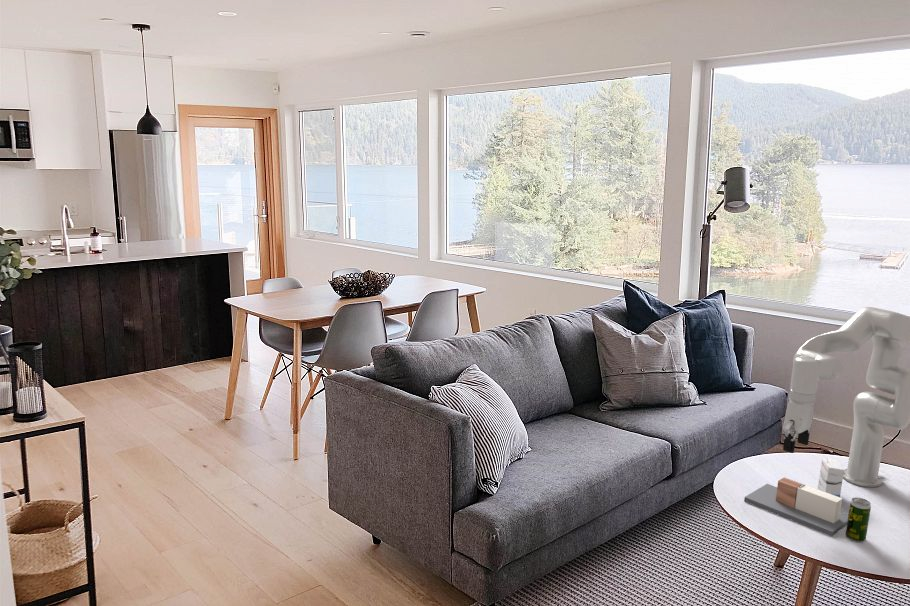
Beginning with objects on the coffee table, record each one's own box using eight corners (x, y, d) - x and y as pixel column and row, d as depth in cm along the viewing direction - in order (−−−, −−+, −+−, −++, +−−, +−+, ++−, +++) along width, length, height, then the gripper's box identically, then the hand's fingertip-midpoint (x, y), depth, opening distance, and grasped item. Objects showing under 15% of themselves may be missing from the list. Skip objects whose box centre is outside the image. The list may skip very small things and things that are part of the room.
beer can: (850, 531, 224) (855, 495, 221) (868, 539, 220) (874, 502, 217) (842, 537, 221) (847, 500, 218) (860, 545, 217) (866, 507, 214)
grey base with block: (766, 487, 251) (769, 464, 249) (852, 520, 231) (856, 494, 229) (744, 501, 242) (746, 476, 240) (832, 536, 221) (836, 510, 219)
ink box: (840, 503, 242) (844, 469, 239) (823, 501, 243) (828, 468, 240) (832, 491, 250) (837, 458, 247) (816, 489, 251) (821, 457, 248)
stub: (781, 497, 242) (784, 477, 240) (799, 504, 237) (802, 483, 236) (775, 500, 239) (778, 480, 238) (793, 507, 235) (796, 487, 233)
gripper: (803, 387, 238) (796, 437, 242) (777, 398, 227) (770, 450, 230) (826, 393, 232) (819, 444, 236) (801, 405, 221) (794, 458, 225)
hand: (795, 447), depth 233 cm, fingers open, 9 cm apart
